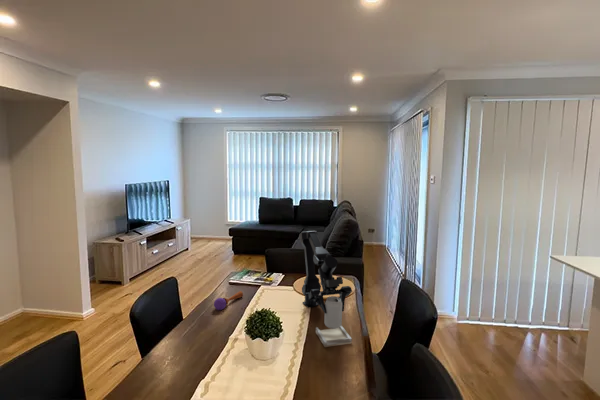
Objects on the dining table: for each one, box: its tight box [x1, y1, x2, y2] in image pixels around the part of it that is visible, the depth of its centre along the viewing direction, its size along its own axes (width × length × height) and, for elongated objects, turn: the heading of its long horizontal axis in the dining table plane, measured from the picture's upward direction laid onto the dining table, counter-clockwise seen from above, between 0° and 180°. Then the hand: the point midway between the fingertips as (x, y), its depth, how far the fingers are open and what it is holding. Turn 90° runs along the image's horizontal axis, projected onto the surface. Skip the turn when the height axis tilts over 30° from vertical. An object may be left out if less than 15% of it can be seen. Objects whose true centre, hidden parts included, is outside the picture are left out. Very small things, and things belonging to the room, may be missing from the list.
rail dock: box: [315, 324, 353, 348], centre depth 140 cm, size 12×12×2 cm
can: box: [323, 295, 343, 329], centre depth 139 cm, size 8×8×12 cm
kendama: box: [213, 290, 244, 311], centre depth 171 cm, size 6×6×20 cm
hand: (334, 312), depth 137 cm, fingers closed on can, 7 cm apart
